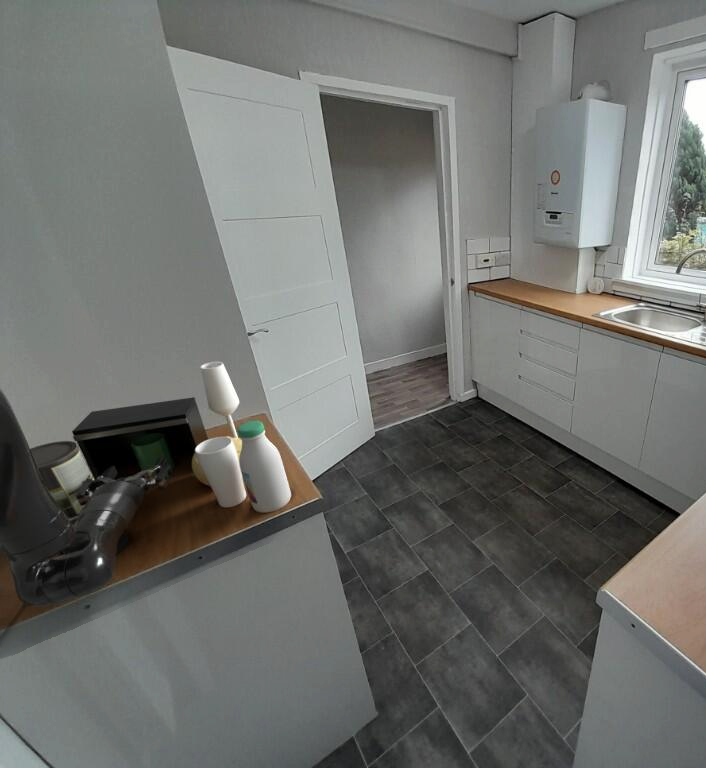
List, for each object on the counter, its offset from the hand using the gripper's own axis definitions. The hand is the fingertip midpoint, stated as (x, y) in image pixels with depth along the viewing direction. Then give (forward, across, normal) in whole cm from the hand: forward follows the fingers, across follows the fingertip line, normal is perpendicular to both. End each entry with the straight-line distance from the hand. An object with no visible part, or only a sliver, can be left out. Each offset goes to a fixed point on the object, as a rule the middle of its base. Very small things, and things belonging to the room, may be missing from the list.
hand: (138, 465), depth 91 cm
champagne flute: (+15, -16, +8) cm, 23 cm away
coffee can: (0, +13, +7) cm, 15 cm away
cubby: (+10, 0, +7) cm, 12 cm away
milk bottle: (-15, -26, +8) cm, 31 cm away
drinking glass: (-11, -18, +8) cm, 23 cm away
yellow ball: (-1, -16, +8) cm, 17 cm away
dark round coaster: (-18, +3, +7) cm, 19 cm away
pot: (+9, 0, +7) cm, 12 cm away
